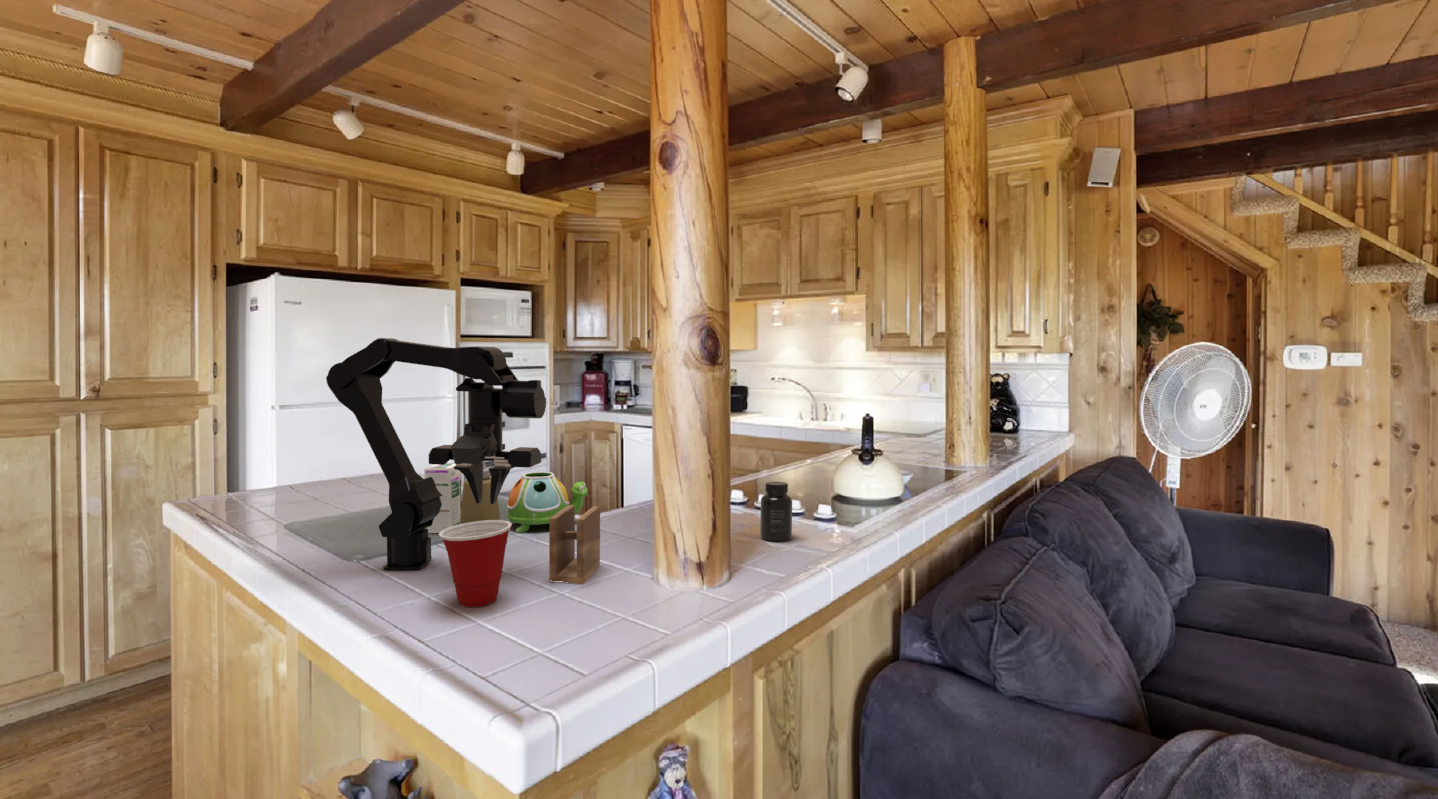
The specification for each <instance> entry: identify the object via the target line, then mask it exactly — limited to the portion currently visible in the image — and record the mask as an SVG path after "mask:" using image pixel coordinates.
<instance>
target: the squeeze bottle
mask: <svg viewBox="0 0 1438 799" xmlns="http://www.w3.org/2000/svg"><path fill="white" fill-rule="evenodd" d="M482 462H483V491H482V500H481V503H479V504H477V503H476V501H475V498H474V495H473V493H472V490H471V488H470V485H469V483H468V481H467V479H465V480H464V481H463V486H462V494H461V500H462V505H461V515H460V523H461V524H464V523H469V522H475V521H485V520H501V517H500V516H501V514H500V507H499V506H500V505H499V498H497V500H496V502H495V504H491V500H490V489H491V474H490V472H489V468H490V467H487V466H486V461H482Z"/></svg>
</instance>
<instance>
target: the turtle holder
mask: <svg viewBox="0 0 1438 799" xmlns="http://www.w3.org/2000/svg"><path fill="white" fill-rule="evenodd" d="M570 492H571V495H572V501H571V503H570V501H569V496H568V495H569V494H568V492H567V489H566V487H565V485H564V484H563V483H562V482H561V481H560V480H559V479H558V478H557V477H556V476H555V473H553V472H551V471H532V472H530V471H529V472H525V473H523V474H522V475H521V477H520V478H519V479H518V480H517V481H516V483H514V485H513V486H512V488H511V490H510V493H509V495H508V500H507V504H506V508H507V511H508V513H507V519H508V521H509V522H510V523H515V524H520V525H519V527H517V528H516V529H515V530H514V531H515V532H516V533H526V532H528V530H529V529H530V527H531V526H532V525H534V526H535V525H547V524H548V525H549V518H550V517H552V516H553V515H555V514H556V513H558V512H559V511H561V510H562V509H564V508H565V507H566V506H568V505H575V516H576V515H577V514H578V513H580V510H581V509H582V507H583V505H584V502H585V501H584V500H585V497H586V496H587V495H588V492H589V491H588V487H587V485H586V483H585V481H577V482H575V483H574V484H573V485H572V487H571V489H570Z"/></svg>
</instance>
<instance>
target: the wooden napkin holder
mask: <svg viewBox="0 0 1438 799" xmlns="http://www.w3.org/2000/svg"><path fill="white" fill-rule="evenodd" d="M575 517H576V515H575V505H571V504H569V505H568V506H566V507H565V508H564V509H562V510H561V511H559V512H558V513H556V514H555V515H553V516H552V517H550V518H549V524H548V525H549V530H548V531H549V533H548V534H549V535H548V537H549V540H548V541H549V544H548V545H549V552H548V553H549V554H548V555H549V563H548V564H549V565H548V566H549V571H548V573H549V580H550V581H551V580H552V581H563V582H568V583H567V584H574V583H576V585H584V584H585V583H586V582H587V581H588V580H589V578H590V577H591V576H592V575H593V574H594V573H595V572H596V571H597V569H598V568H599V567H601V565H600V564H601V506H600V505H599V506H598V505H594V506H592V507H591V508H590V509H588V510H587V511H585V513H582V515H581V516H579V517H578V518H577V519H575ZM575 520H576V521H575ZM575 522H576V524H575ZM575 525H576V526H575ZM575 528H576V529H575ZM575 540H576V541H575ZM575 545H576V546H575ZM575 547H576V550H575ZM575 551H576V552H575ZM575 554H576V555H575ZM575 556H576V558H575ZM577 583H578V584H577Z"/></svg>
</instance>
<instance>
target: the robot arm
mask: <svg viewBox="0 0 1438 799" xmlns="http://www.w3.org/2000/svg"><path fill="white" fill-rule="evenodd" d="M395 362H399V363H405V364H411V365H412V364H413V365H419V366H420V365H421V366H426V367H427V366H428V367H434V368H443V369H447V370H449V371H452V372H454V373H456V374H458V375H460V376H464V377H466V378H464V379H463V381H462V382H461V383H460V384H459V385H458V386H456V387H455V390H456V392H467V394H468V395H467V409H468V410H467V414H468V415H467V417H468V421H467V422H468V423H465V424H464V428H463V431H464V432H463V434H462V435H461V436H459V437H458V438H457V439H456V440H455V441H454V443H452V444H443V445H440V446H439V445H438V446H435V447H432V448H431V449H430V451H429V453H428V464H429V465H435V464H440V465H444V464H446V463H449V461H450V460H451V461H453V463H455V464H456V466H454V469H455V470H459V471H460V472H461V474H462V475H463V476H464V477H465V480H467V481H468V483H469V485H470V488H471V490H472V493H473V495H474V498H475V501H476V503H477V504H479V503H481V500H482V491H483V462H482V461H485V462H493V464H494V466H493V465H492V466H491V467H488V468H489V472H490V474H491V477H490V478H491V489H490V500H491V504H495V502H496V500H497V498H498V497H499V495H500V492H501V490H502V488H503V485H504V483H505V482H506V479H507V477H508V475H509V473H510V471H511V469H514V468H532V467H534V466H537V465H539V464H540V463H542V452H541V450H540V448H539V447H529V446H528V447H527V446H526V447H523V446H520V447H519V446H518V447H516V448H513V449H511V450H509V451H508V450H506V443H503V428H506V421H504V420H503V414H505V415H506V416H507V417H508V418H511V419H515V418H516V419H542V418H543V416H544V415H545V413H546V407H547V398H546V395H545V391H544V389H543V386H542V381H541V380H540V379H530V380H519V379H518V377H517V376H516V375H515V373H514V372H513V371H512V369H511V368H510V367H509V365H508V364H507V358H506V355H505V354H504V352H503V351H502V350H501V349H500V348H498V347H495V346H462V347H461V346H460V347H450V346H448V347H447V346H441V345H434V344H433V345H432V344H426V343H425V344H424V343H419V342H418V343H417V342H410V341H403V340H399V339H396V338H392V337H391V338H387V337H381V338H380V337H379V338H376V339H375V340H373V341H371V342H370V343H369V344H368V345H367V346H366V347H364V348H362V349H361V350H358V351H357V352H355V353H353V354H351V355H350V356H347V357H346V358H345V359H343V361H342V362H338V363H335V364H334V365H332V366H331V367H330V368H329V370H328V371H327V372H328V373H327V376H326V377H325V379H326V384H327V386H328V388H329V389H330V391H331V393H332V394H333V395H334V396H335V398H336V399H337V401H338V402H339V403H341V404H342V405H343V406H344V407H345V408H347V409H348V410H350V411H351V413H353V415H354V416H355V419H356V420H357V423H358V424H359V427H360V428H361V430H362V432H363V434H364V436H365V439H366V442H367V443H368V444H369V447H370V448H371V451H372V452H373V455H374V457H375V459H376V461H377V463H378V465H379V467H380V469H381V471H382V473H383V475H384V477H385V478H386V481H387V483H388V504H389V508H390V510H391V513H390V514H389V515H388V516H387V517H386V518H384V520H383V521H382V522H381V523H380V524H379V525H378V529H379V532H380V534H381V537H383V538H386V561H387V562H386V564H385V565H383V567H382V569H383V570H421V569H422V568H423V567H424V566H425V565H426V564H428V563H429V562H430V561H431V560H433V559H432V538H431V537H429V533H428V529H426V528H427V527H430V526H432V523H433V520H434V518H435V517H436V516H437V515H438V514H439V512H440V509H441V507H442V503H441V499H440V497H441V496H442V494H441V493H440V492H439V491H438V490H437V488H436V485H435V482H434V480H433V478H432V477H428V478H425V477H422V476H421V475H420V474H418V472H416V470H415V467H414V465H413V464H412V462H411V460H410V458H409V455H408V453H407V452H406V449H405V448H404V445H403V444H402V441H401V439H400V438H399V435H398V434H397V431H396V429H395V428H394V425H393V424H392V421H391V419H390V416H389V415H388V413H387V411H386V409H385V408H384V405H383V401H382V400H383V385H382V383H381V382H382V381H381V379H382V377H384V376H385V375H386V374H387V373H388V372H389V371H390V369H391V368H392V366H393V365H394V363H395ZM475 380H481V381H482V382H480V381H479V382H478V381H475ZM495 386H496V387H495ZM497 386H500V387H501V388H498V387H497ZM504 450H505V451H504ZM498 499H499V498H498Z"/></svg>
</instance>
